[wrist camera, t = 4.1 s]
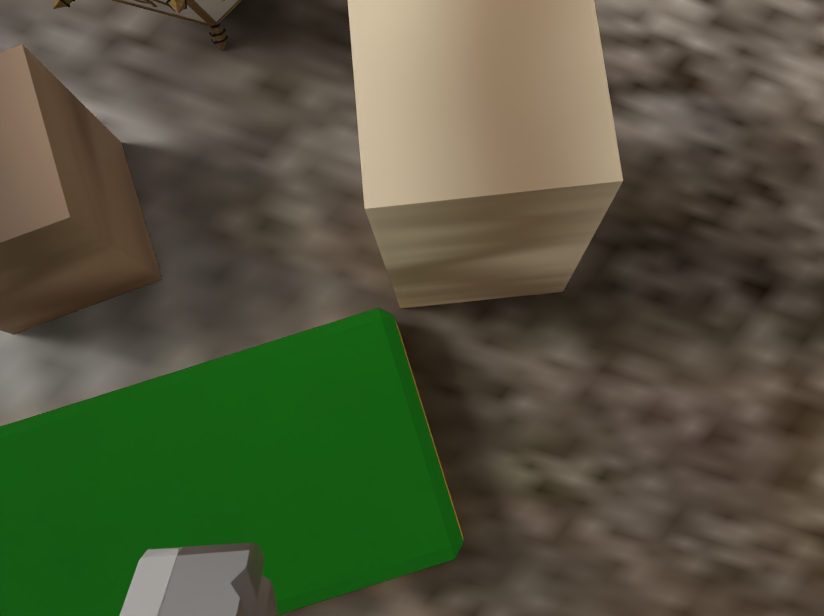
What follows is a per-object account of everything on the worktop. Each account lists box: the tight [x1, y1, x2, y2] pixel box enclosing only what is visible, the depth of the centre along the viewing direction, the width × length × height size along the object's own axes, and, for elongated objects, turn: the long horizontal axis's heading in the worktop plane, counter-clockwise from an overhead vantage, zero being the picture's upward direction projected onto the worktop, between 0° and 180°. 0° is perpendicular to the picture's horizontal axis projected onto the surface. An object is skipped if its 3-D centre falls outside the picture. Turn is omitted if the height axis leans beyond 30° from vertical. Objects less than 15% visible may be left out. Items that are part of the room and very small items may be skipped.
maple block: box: [348, 0, 623, 308], centre depth 20 cm, size 5×5×9 cm
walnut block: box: [0, 44, 162, 334], centre depth 22 cm, size 5×5×6 cm
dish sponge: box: [0, 308, 463, 616], centre depth 22 cm, size 7×14×2 cm, turn 107°
